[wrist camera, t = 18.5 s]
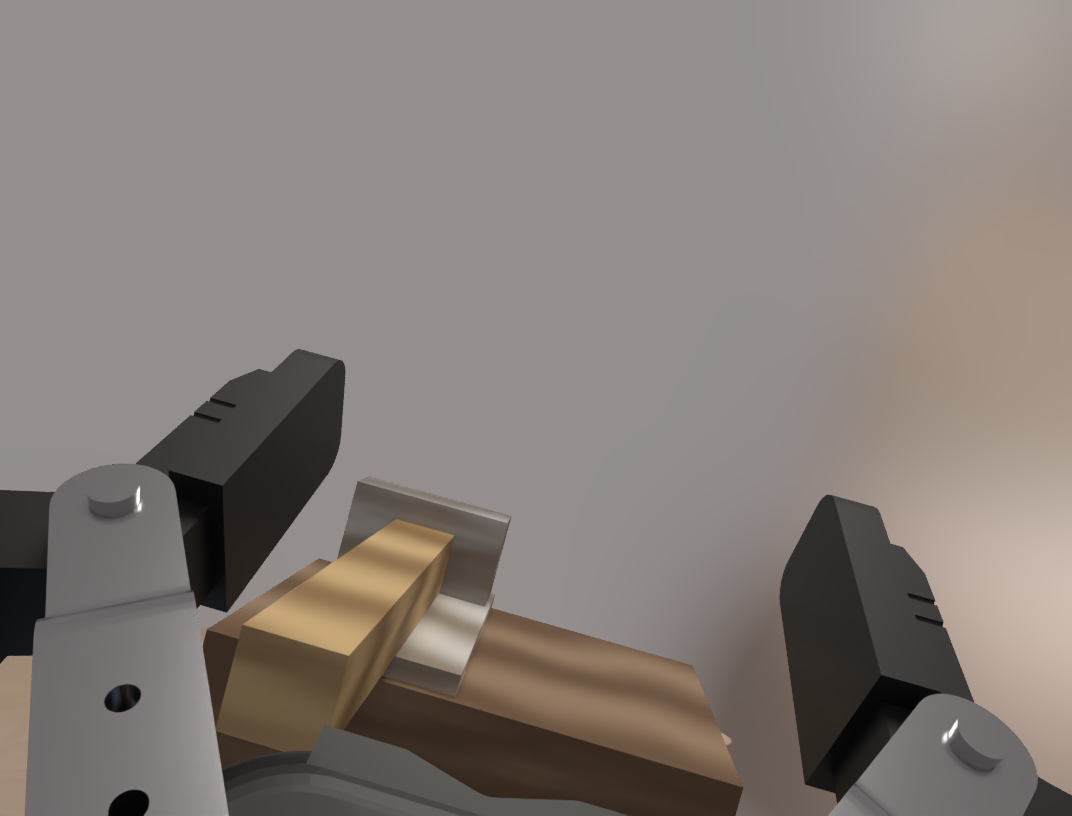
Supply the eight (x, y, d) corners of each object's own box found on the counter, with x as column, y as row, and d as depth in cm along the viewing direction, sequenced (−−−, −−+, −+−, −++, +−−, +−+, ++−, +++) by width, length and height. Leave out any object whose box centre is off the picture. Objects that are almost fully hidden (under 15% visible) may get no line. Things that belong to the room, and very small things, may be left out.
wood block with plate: (404, 788, 23) (446, 633, 23) (132, 706, 23) (171, 554, 23) (489, 595, 45) (511, 516, 45) (348, 554, 45) (369, 476, 45)
